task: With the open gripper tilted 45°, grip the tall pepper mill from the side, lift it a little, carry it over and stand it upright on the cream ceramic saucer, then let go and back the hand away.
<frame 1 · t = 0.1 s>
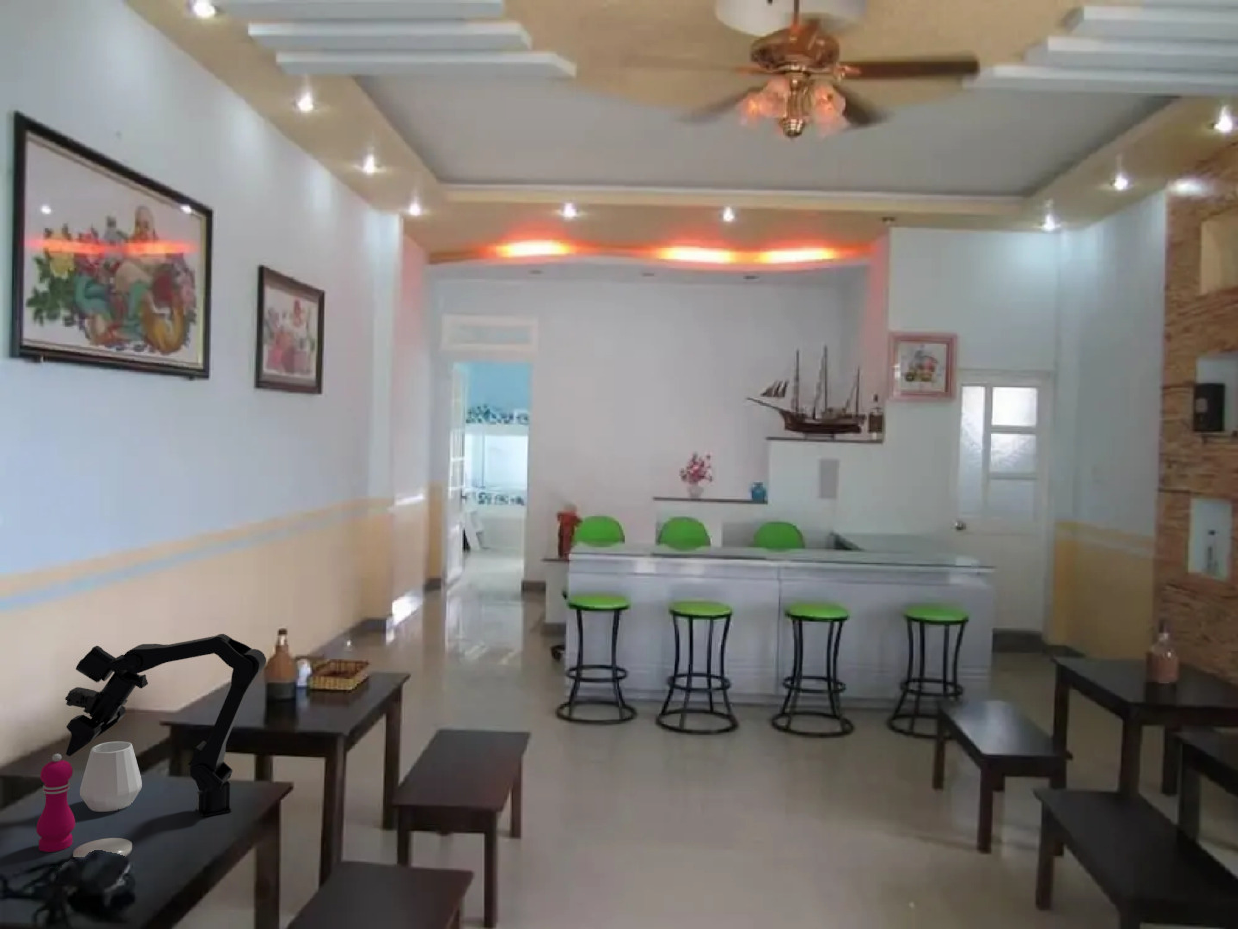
hand: (76, 748, 228), 15 cm above the table, tool tilted 35°, fingers open, 9 cm apart
cup: (111, 805, 233), on the table
saucer: (102, 853, 206), on the table
pepper mill: (55, 847, 209), on the table
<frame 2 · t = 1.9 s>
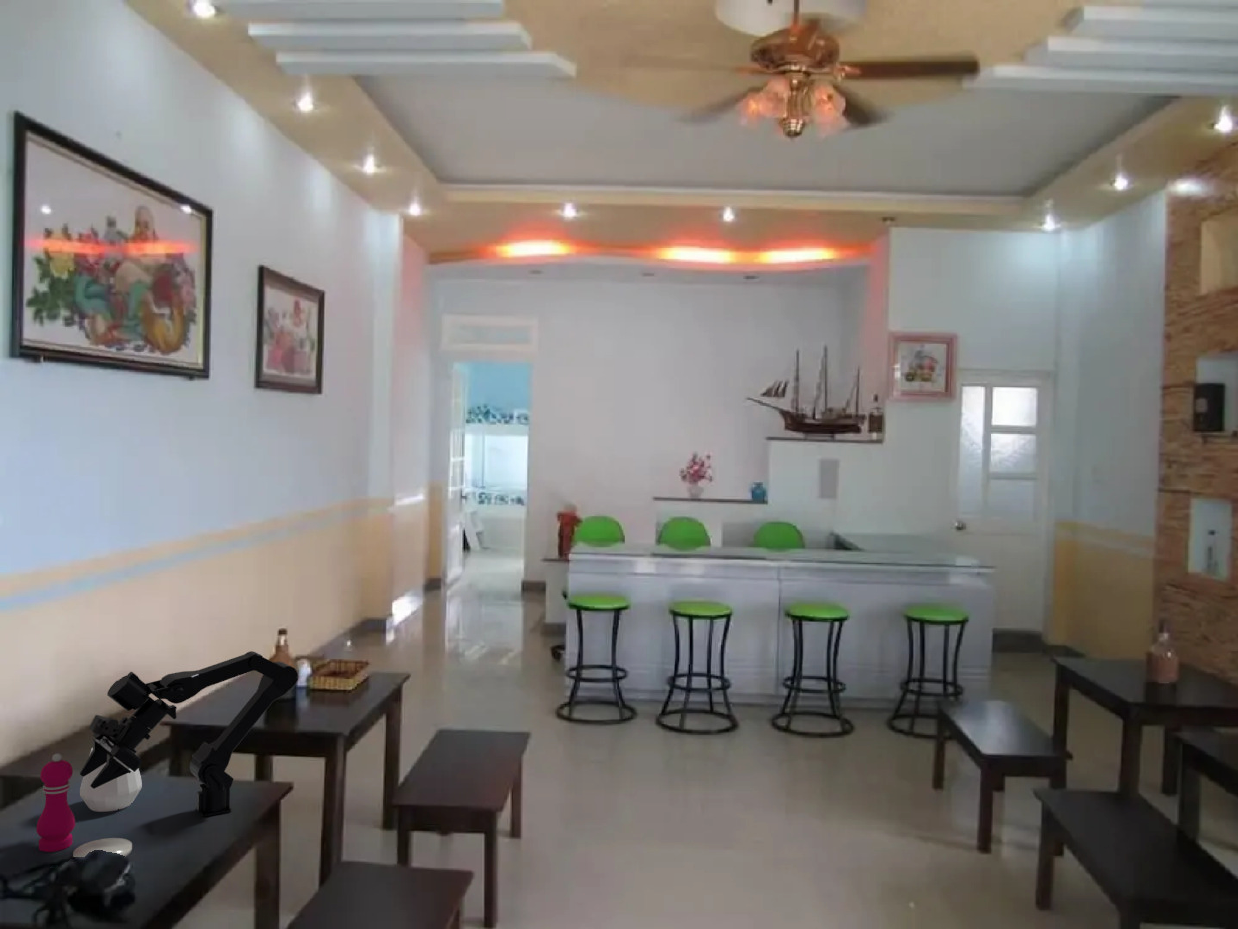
hand: (86, 781, 213), 13 cm above the table, tool tilted 45°, fingers open, 9 cm apart
nothing on the table moved.
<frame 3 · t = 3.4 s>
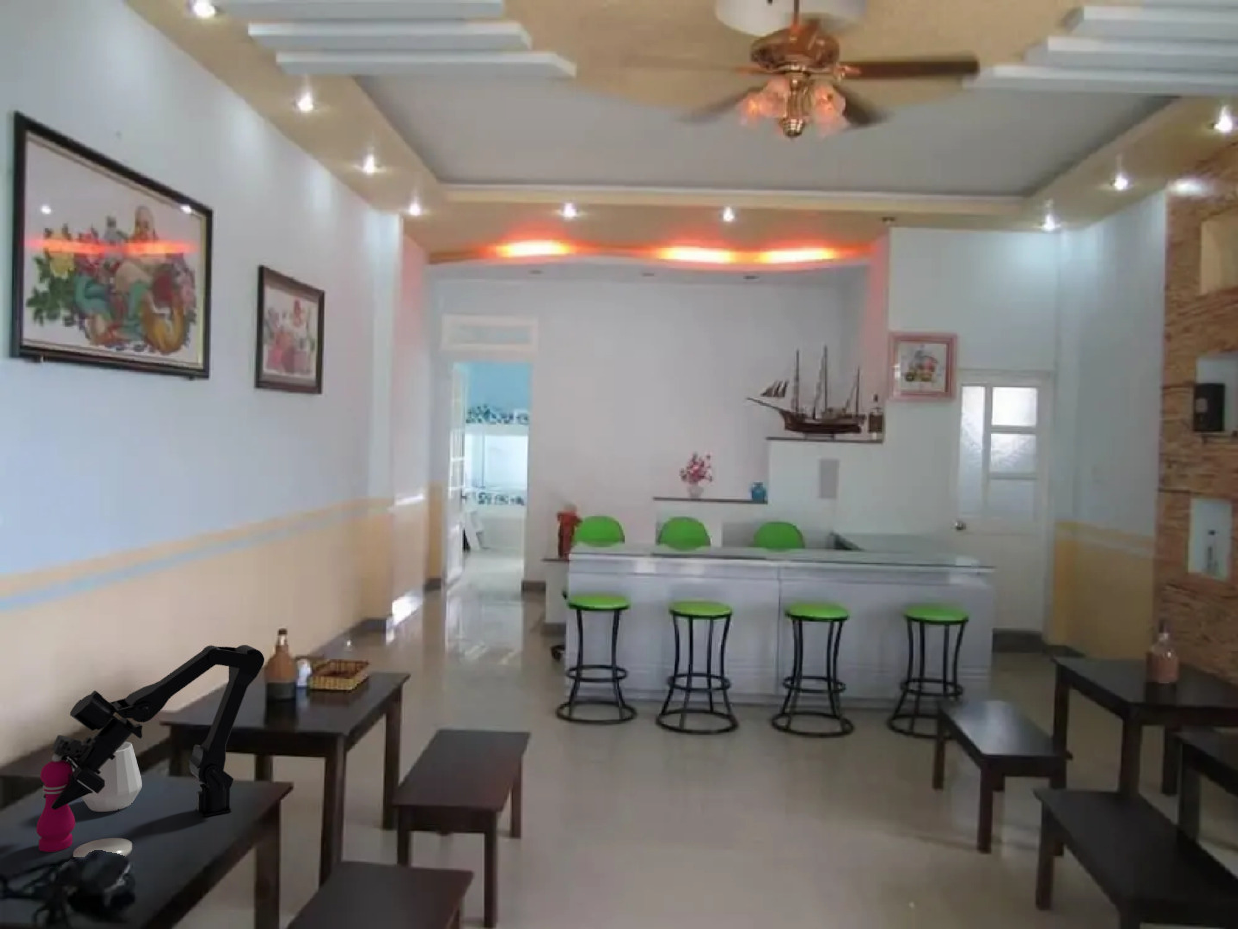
hand: (48, 803, 208), 10 cm above the table, tool tilted 45°, fingers open, 7 cm apart
pepper mill: (55, 847, 209), on the table, touching gripper
everything else where it was.
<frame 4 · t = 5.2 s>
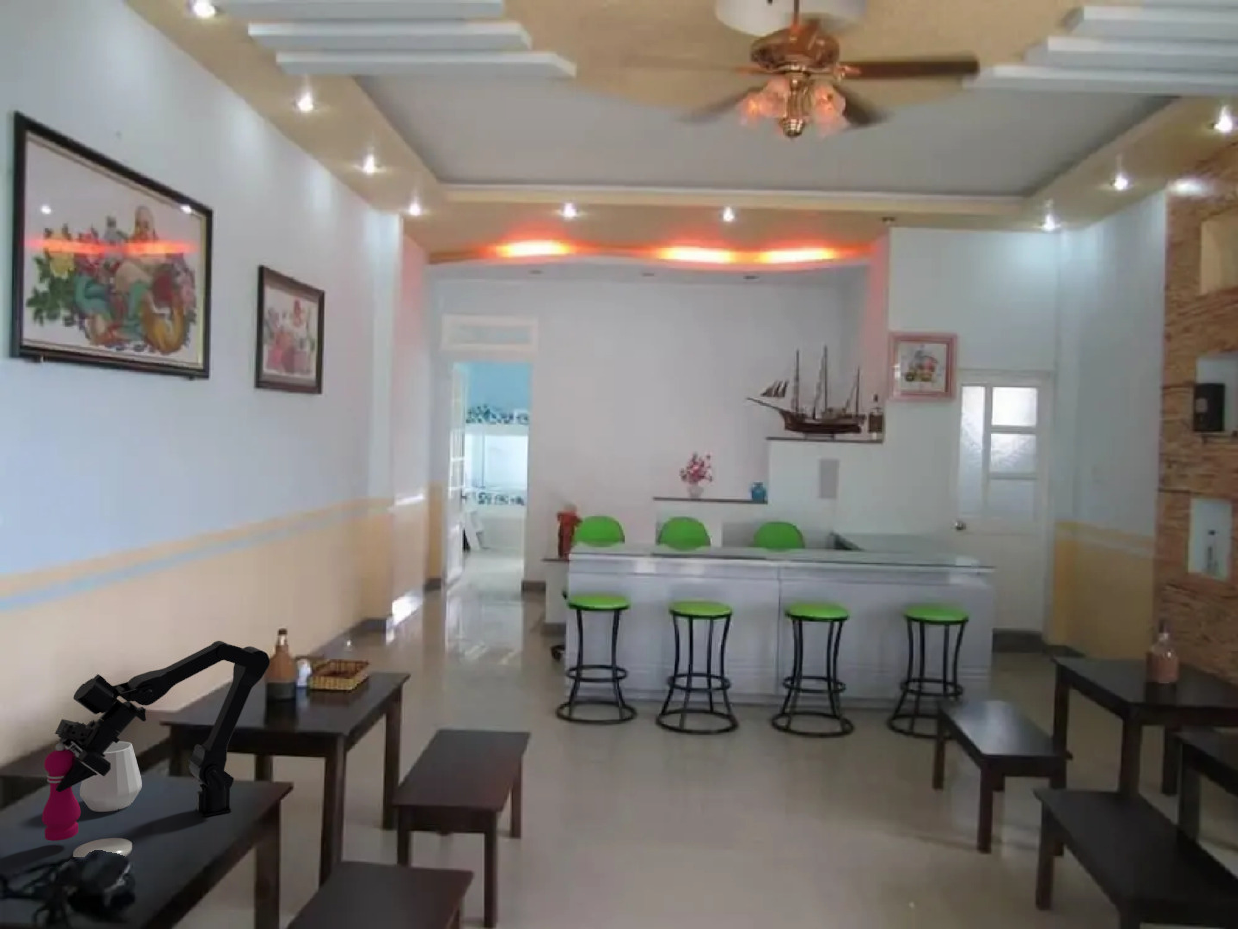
hand: (53, 787, 208), 13 cm above the table, tool tilted 45°, fingers closed on pepper mill, 5 cm apart
pepper mill: (61, 835, 209), point 2 cm above the table, touching gripper
everything else where it was.
when the fingers open (12 cm above the table, at t = 6.9 s): pepper mill stays where it is, resting on saucer.
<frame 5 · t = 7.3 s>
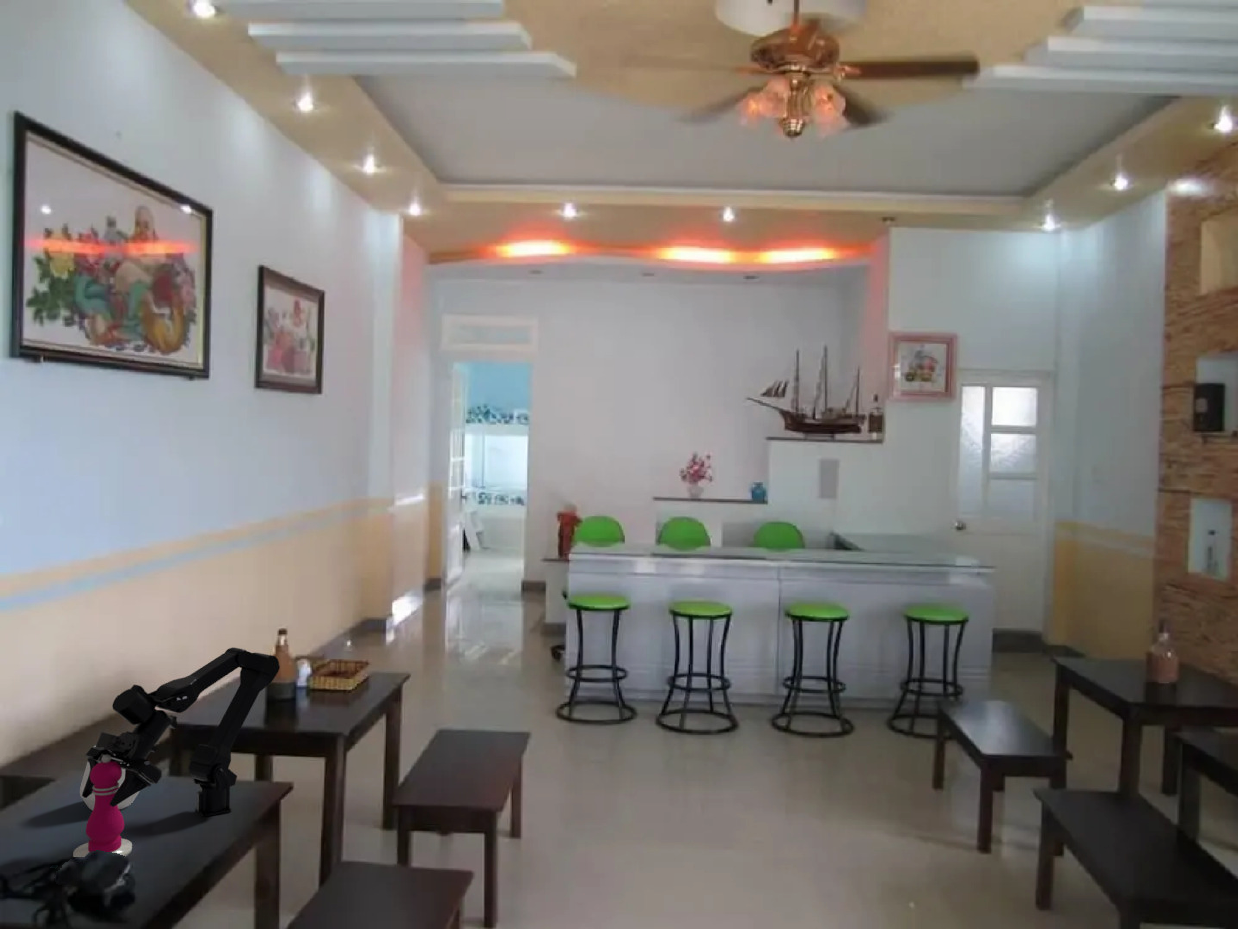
hand: (97, 801, 205), 12 cm above the table, tool tilted 45°, fingers open, 9 cm apart
pepper mill: (104, 849, 207), point 1 cm above the table, touching saucer
everything else where it was.
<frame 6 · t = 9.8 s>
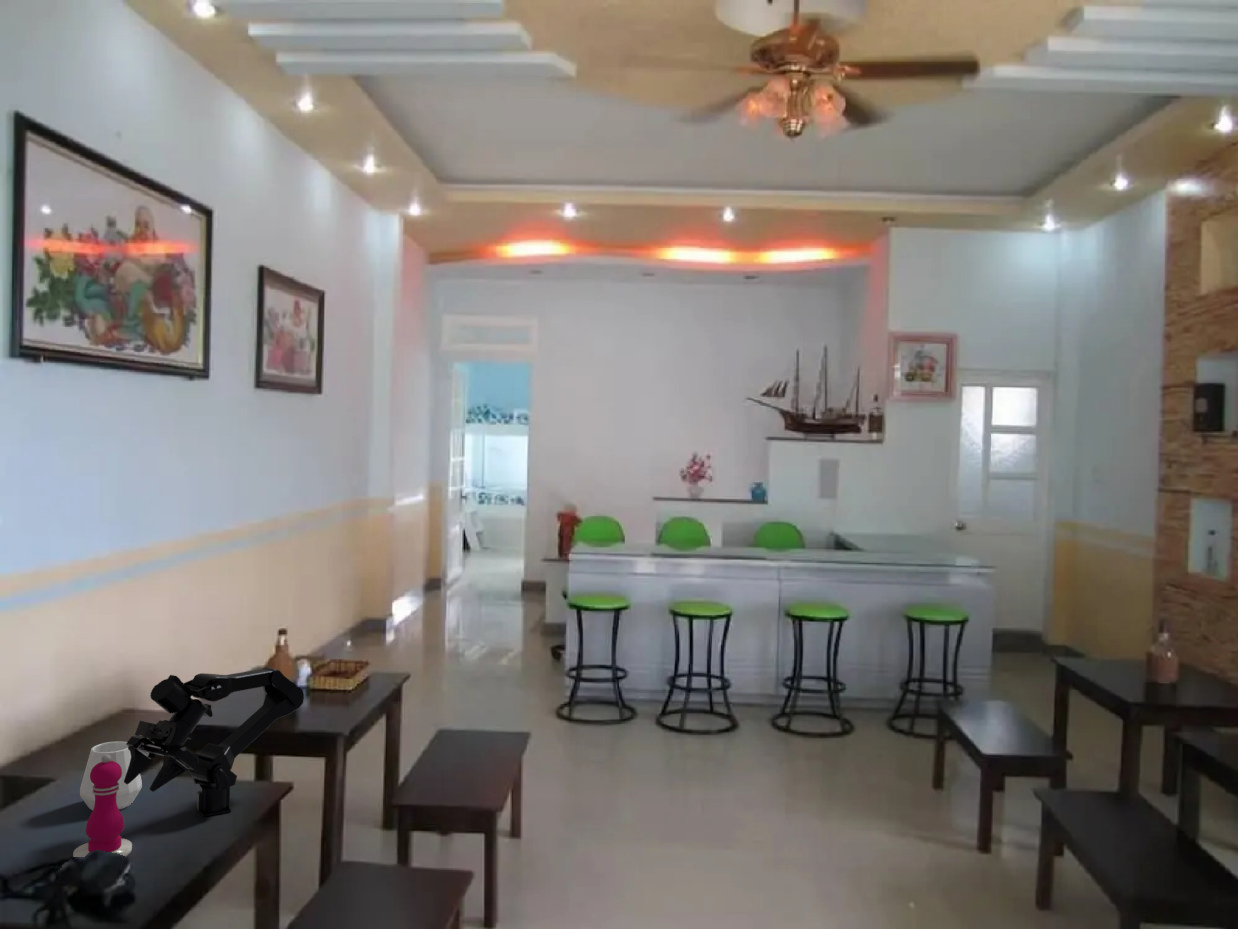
hand: (138, 787, 213), 12 cm above the table, tool tilted 45°, fingers open, 9 cm apart
nothing on the table moved.
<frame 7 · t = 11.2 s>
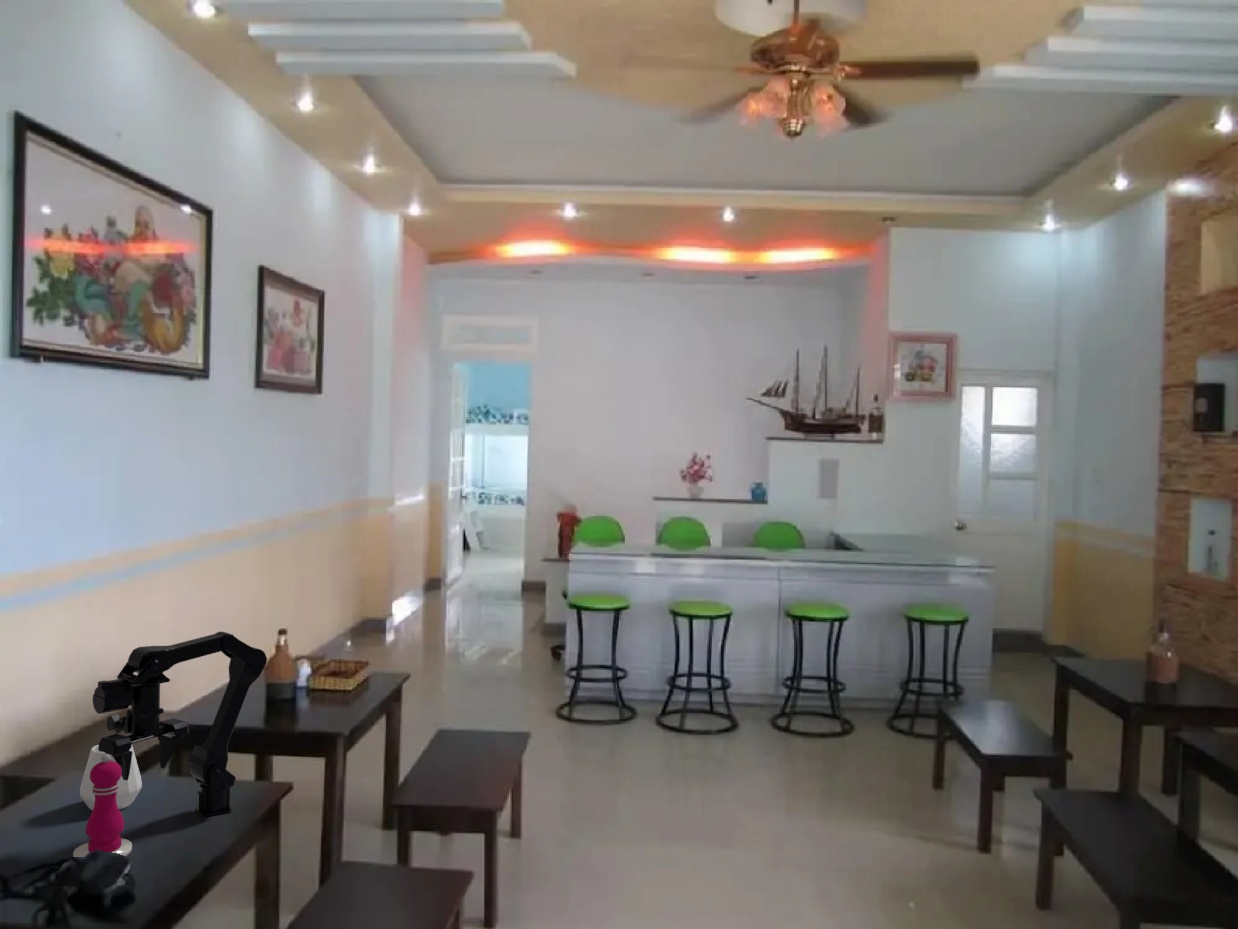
hand: (144, 774, 218), 13 cm above the table, tool pointing down, fingers open, 9 cm apart
nothing on the table moved.
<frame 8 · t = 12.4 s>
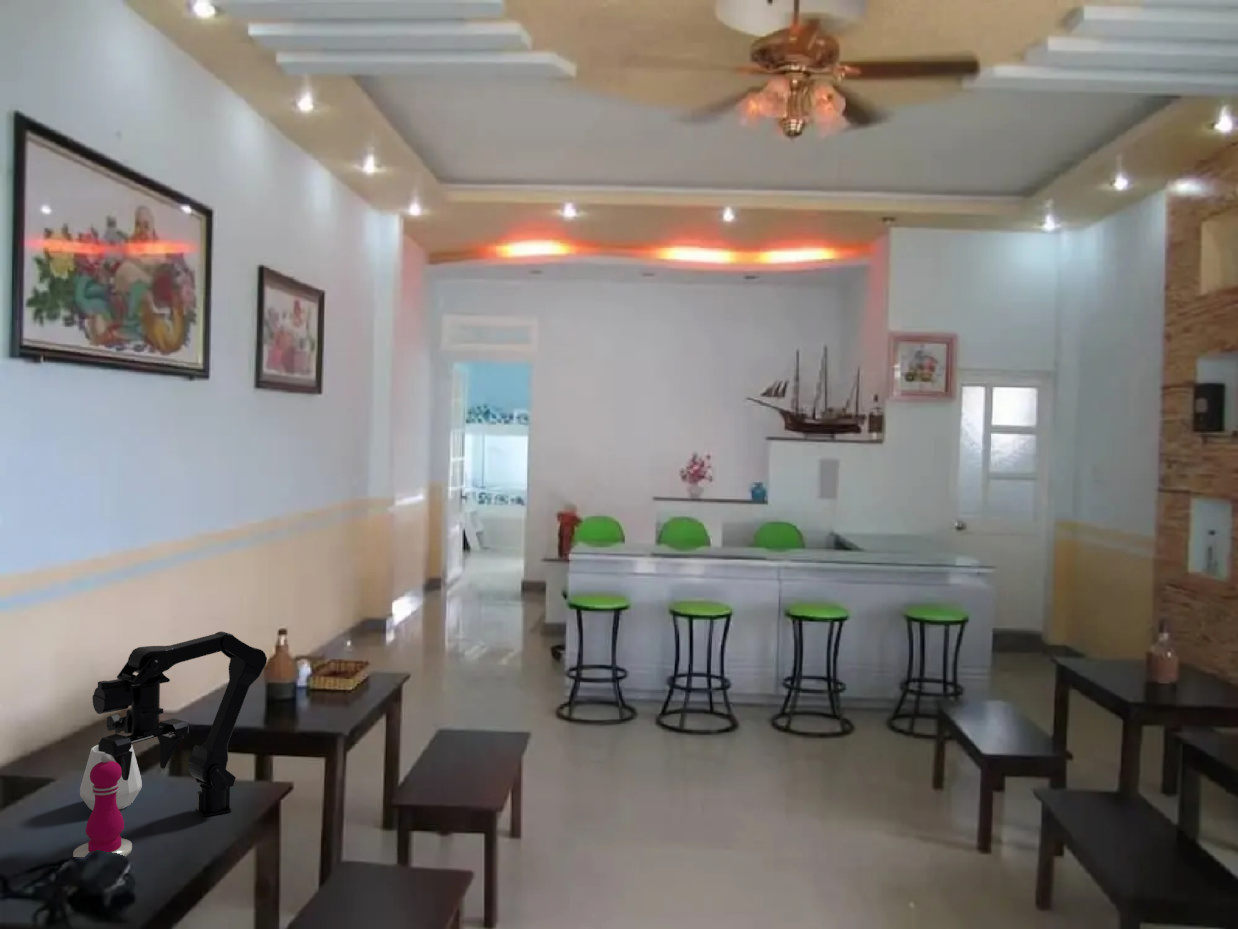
hand: (144, 774, 218), 13 cm above the table, tool pointing down, fingers open, 9 cm apart
nothing on the table moved.
at the end: pepper mill 0.4 cm off-centre on the saucer, point 0.8 cm above the saucer's base; pepper mill tilted 0°; the gripper is holding nothing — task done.
